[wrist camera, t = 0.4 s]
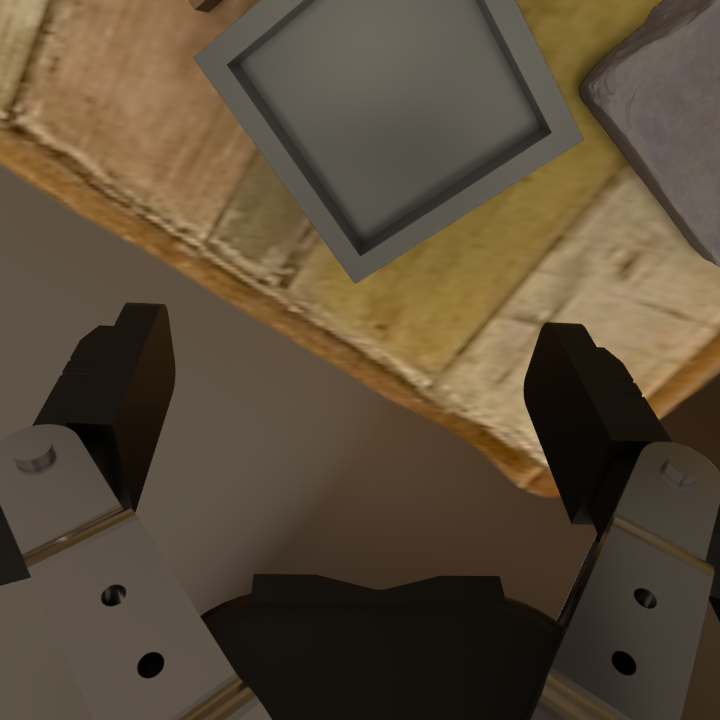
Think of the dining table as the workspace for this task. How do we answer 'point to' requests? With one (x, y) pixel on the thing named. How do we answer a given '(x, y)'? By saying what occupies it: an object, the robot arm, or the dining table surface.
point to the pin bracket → (204, 4)
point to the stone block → (669, 112)
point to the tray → (390, 112)
